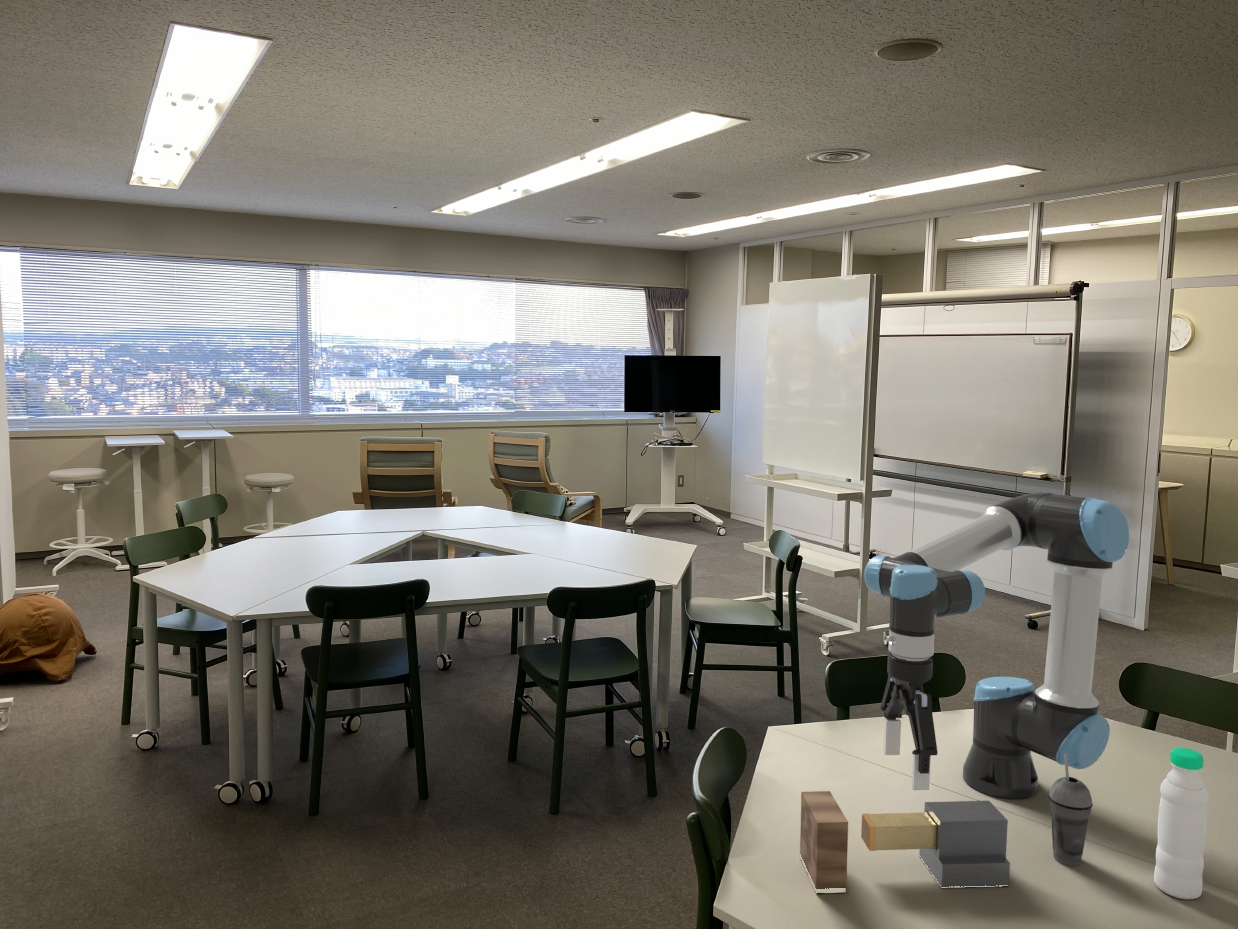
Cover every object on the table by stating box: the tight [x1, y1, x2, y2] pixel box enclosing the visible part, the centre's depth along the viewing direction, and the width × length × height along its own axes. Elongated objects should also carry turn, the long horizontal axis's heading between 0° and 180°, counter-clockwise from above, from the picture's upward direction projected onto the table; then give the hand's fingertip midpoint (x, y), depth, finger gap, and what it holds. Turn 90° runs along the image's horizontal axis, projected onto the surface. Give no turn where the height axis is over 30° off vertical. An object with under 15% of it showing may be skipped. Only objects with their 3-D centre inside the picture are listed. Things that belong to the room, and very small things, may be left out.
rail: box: [860, 812, 938, 852], centre depth 155 cm, size 4×22×4 cm, turn 93°
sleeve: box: [918, 800, 1011, 888], centre depth 156 cm, size 10×12×12 cm
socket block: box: [799, 790, 849, 889], centre depth 155 cm, size 11×5×13 cm, turn 3°
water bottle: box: [1153, 747, 1210, 900], centre depth 150 cm, size 7×7×25 cm
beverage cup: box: [1048, 754, 1094, 867], centre depth 159 cm, size 7×7×20 cm
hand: (905, 771), depth 154 cm, fingers open, 13 cm apart
